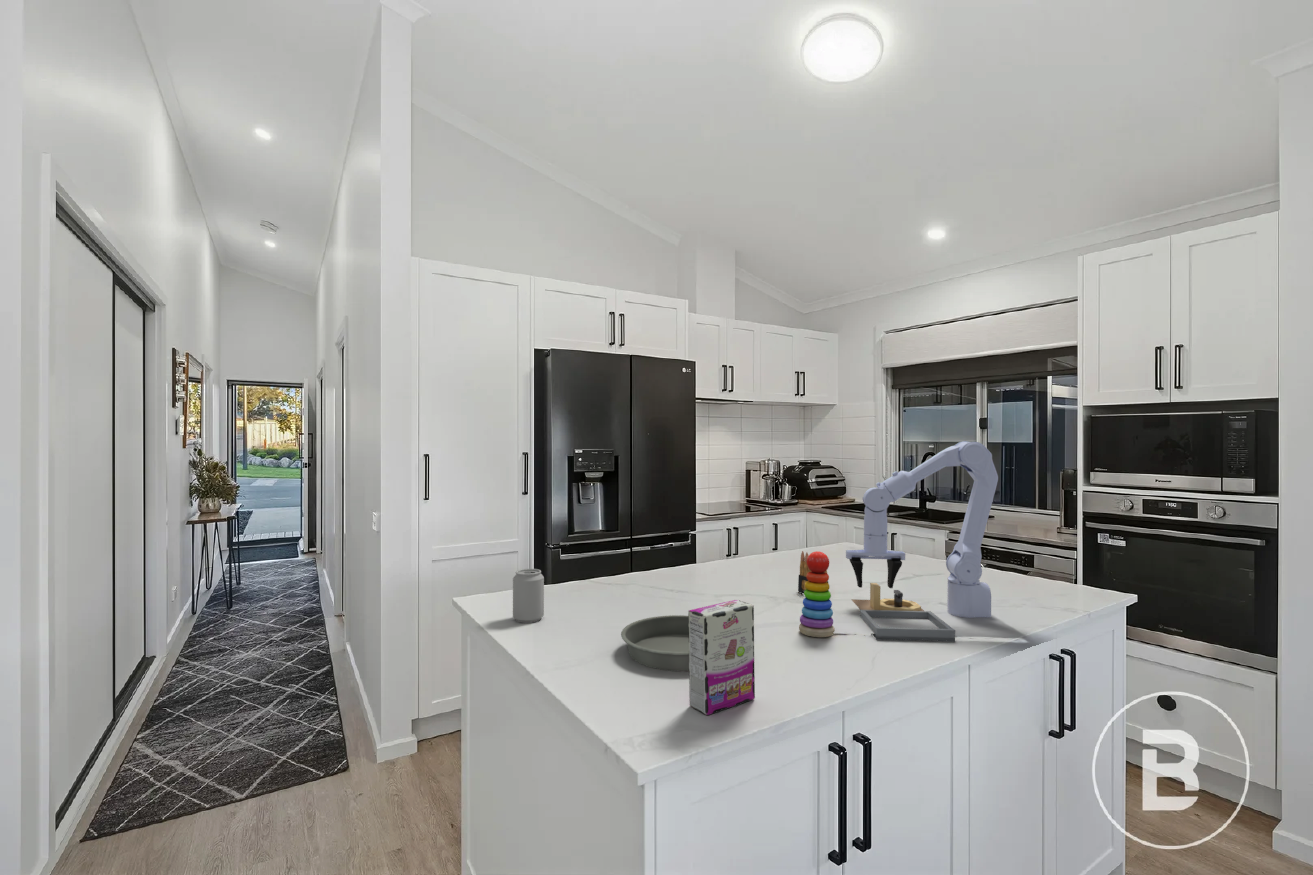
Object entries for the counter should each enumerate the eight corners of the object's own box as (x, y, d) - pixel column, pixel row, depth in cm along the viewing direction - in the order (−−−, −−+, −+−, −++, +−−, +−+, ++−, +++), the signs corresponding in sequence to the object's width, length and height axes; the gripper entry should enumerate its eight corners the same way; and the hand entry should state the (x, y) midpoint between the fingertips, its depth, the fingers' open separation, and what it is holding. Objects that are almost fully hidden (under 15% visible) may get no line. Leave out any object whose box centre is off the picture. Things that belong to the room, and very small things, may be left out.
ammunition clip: (829, 599, 174) (829, 556, 174) (824, 600, 173) (824, 557, 173) (802, 591, 183) (802, 550, 183) (797, 591, 182) (798, 550, 182)
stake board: (911, 604, 169) (911, 600, 169) (930, 619, 155) (930, 615, 155) (851, 602, 170) (851, 599, 170) (864, 618, 156) (864, 614, 156)
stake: (900, 606, 163) (900, 590, 163) (904, 610, 160) (904, 593, 160) (892, 606, 164) (892, 589, 164) (896, 610, 160) (896, 593, 160)
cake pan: (606, 641, 139) (606, 621, 139) (707, 629, 148) (707, 610, 148) (643, 682, 116) (643, 658, 116) (760, 665, 125) (760, 643, 125)
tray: (930, 621, 154) (930, 611, 154) (955, 641, 139) (955, 630, 139) (859, 619, 155) (859, 609, 155) (876, 639, 140) (876, 628, 140)
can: (547, 615, 158) (547, 567, 158) (538, 624, 151) (539, 574, 151) (518, 614, 159) (518, 566, 159) (508, 623, 151) (508, 573, 151)
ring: (911, 603, 166) (911, 580, 166) (925, 614, 156) (925, 590, 156) (866, 602, 167) (867, 580, 167) (877, 613, 157) (877, 589, 157)
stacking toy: (836, 639, 140) (836, 555, 140) (799, 637, 141) (799, 554, 141) (833, 629, 148) (833, 549, 148) (798, 626, 149) (798, 548, 149)
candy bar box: (735, 690, 112) (736, 598, 112) (755, 699, 108) (756, 604, 108) (686, 705, 106) (687, 608, 106) (706, 716, 102) (706, 615, 102)
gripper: (899, 532, 165) (898, 583, 166) (843, 531, 167) (842, 582, 167) (908, 536, 158) (907, 590, 159) (849, 535, 160) (849, 589, 160)
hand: (874, 586), depth 162 cm, fingers open, 7 cm apart
